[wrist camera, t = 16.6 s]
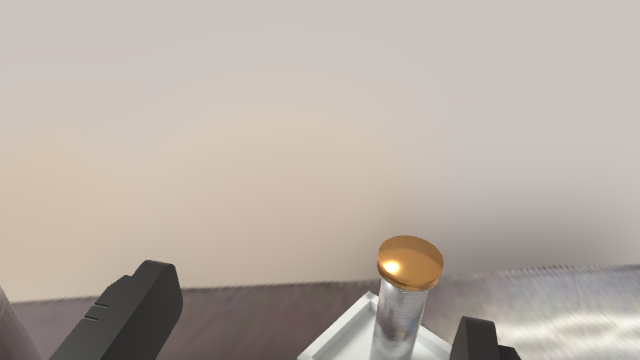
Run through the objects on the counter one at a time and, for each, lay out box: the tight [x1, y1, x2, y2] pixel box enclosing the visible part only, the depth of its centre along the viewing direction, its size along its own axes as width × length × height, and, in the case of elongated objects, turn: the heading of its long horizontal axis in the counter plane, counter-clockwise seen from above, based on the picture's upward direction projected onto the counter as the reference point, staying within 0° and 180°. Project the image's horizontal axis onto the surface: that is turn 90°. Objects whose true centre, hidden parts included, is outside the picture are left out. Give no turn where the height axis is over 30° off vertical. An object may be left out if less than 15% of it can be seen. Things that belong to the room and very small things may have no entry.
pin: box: [369, 236, 443, 360], centre depth 39 cm, size 5×5×16 cm
